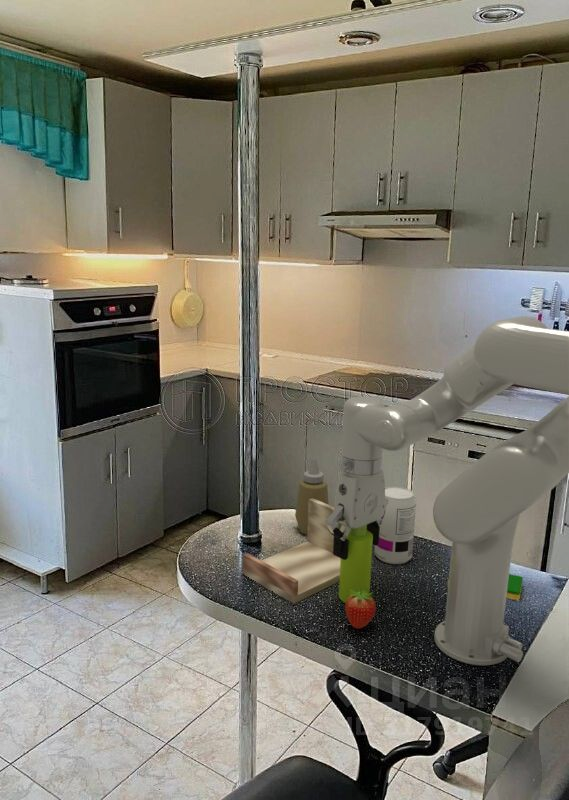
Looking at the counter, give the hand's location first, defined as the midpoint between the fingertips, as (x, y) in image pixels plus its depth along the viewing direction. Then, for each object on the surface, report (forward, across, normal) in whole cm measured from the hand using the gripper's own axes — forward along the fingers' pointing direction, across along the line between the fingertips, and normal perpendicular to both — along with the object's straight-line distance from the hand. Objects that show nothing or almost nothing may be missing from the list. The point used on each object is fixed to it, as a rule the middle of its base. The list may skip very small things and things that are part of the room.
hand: (356, 549), depth 126 cm
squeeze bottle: (+10, +15, +26) cm, 32 cm away
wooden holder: (+10, -1, +13) cm, 16 cm away
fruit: (+10, -8, -8) cm, 15 cm away
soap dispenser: (+10, 0, 0) cm, 10 cm away
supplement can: (+10, +19, +5) cm, 22 cm away
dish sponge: (+10, +23, -15) cm, 29 cm away
